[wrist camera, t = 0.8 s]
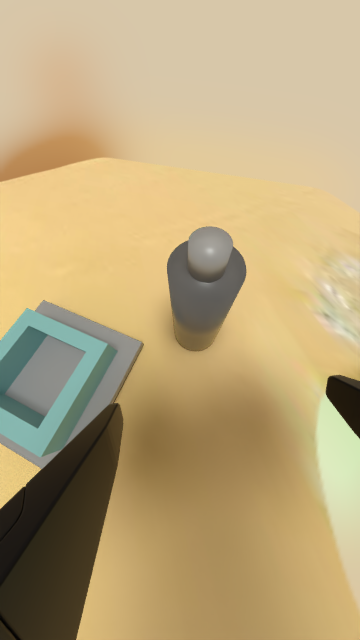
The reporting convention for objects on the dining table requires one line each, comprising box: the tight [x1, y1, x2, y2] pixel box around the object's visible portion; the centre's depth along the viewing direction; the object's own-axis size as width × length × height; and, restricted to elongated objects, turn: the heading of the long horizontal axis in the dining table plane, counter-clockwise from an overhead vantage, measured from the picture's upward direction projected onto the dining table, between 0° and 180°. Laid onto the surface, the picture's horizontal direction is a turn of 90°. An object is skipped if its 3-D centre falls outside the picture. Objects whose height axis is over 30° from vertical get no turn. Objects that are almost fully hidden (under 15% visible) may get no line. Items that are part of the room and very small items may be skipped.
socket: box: [0, 300, 144, 469], centre depth 19 cm, size 14×14×4 cm
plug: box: [167, 227, 246, 351], centre depth 17 cm, size 5×5×14 cm
